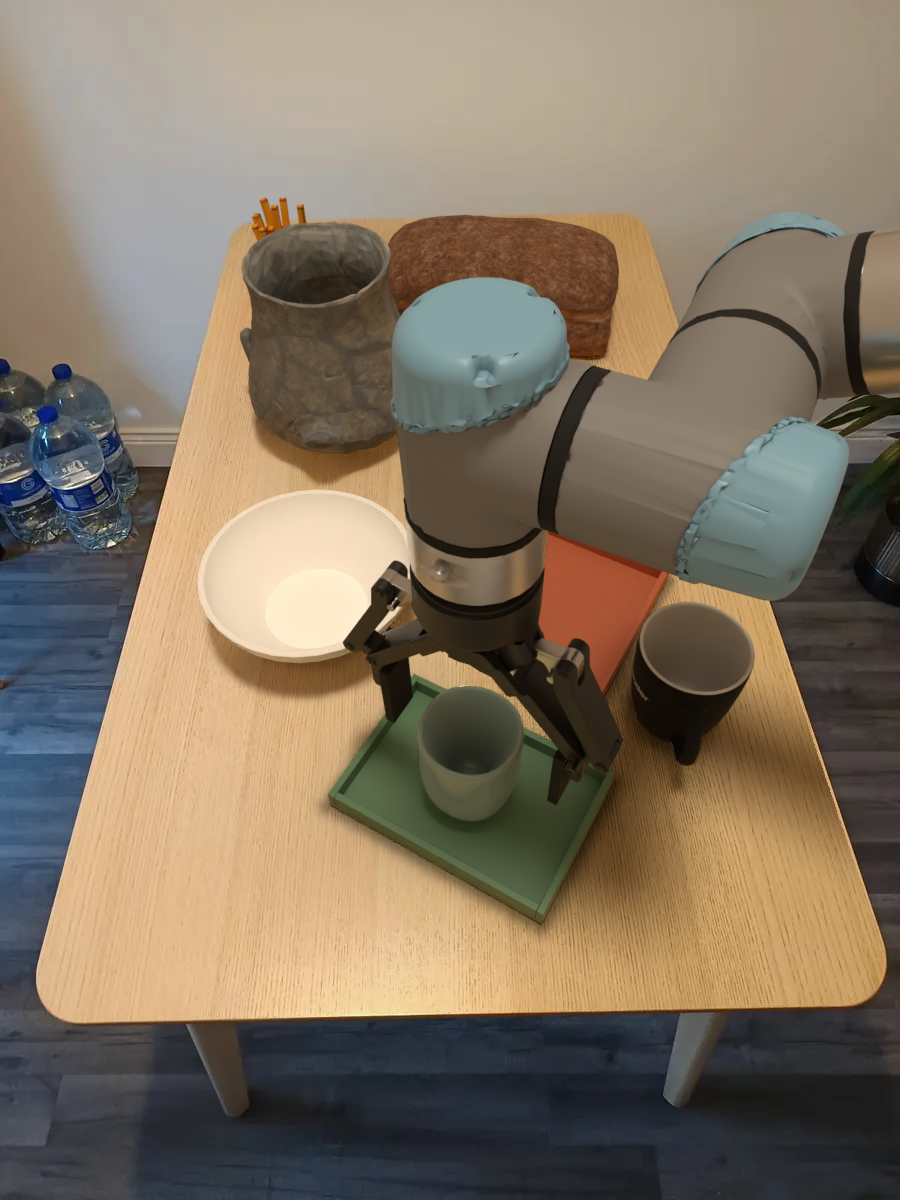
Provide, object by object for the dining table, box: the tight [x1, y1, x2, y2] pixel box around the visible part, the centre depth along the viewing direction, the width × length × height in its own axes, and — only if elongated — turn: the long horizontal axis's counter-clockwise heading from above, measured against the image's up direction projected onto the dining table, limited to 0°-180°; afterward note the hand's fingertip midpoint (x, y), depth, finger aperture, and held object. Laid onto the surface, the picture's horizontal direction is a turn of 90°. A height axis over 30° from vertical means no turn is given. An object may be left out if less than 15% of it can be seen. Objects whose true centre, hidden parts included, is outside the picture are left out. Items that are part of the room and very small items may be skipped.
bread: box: [387, 214, 620, 357], centre depth 107 cm, size 17×29×11 cm, turn 82°
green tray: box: [327, 673, 616, 924], centre depth 70 cm, size 19×13×2 cm
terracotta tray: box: [539, 531, 670, 697], centre depth 82 cm, size 17×16×2 cm
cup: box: [417, 685, 524, 822], centre depth 66 cm, size 8×8×10 cm
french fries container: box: [251, 197, 307, 242], centre depth 106 cm, size 7×9×14 cm
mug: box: [630, 601, 756, 767], centre depth 70 cm, size 12×9×10 cm
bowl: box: [196, 488, 410, 664], centre depth 80 cm, size 20×20×7 cm
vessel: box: [239, 221, 400, 456], centre depth 91 cm, size 22×22×20 cm
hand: (477, 746), depth 64 cm, fingers open, 13 cm apart
